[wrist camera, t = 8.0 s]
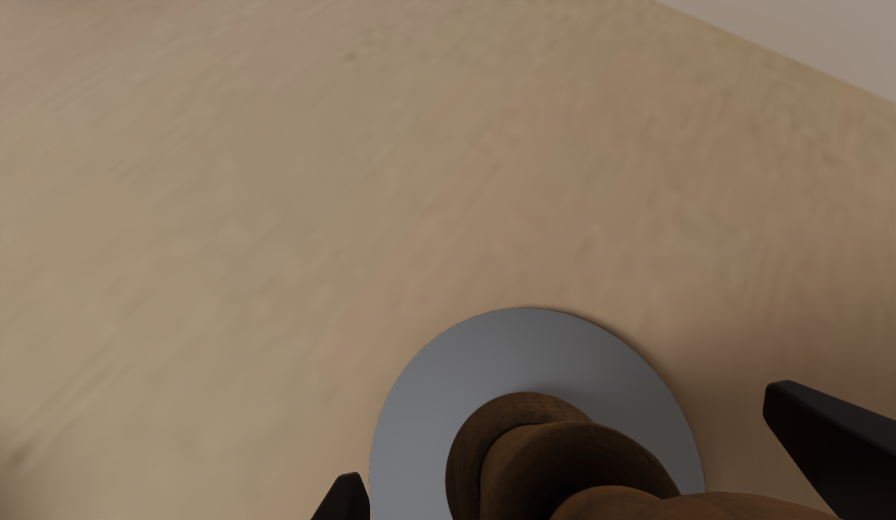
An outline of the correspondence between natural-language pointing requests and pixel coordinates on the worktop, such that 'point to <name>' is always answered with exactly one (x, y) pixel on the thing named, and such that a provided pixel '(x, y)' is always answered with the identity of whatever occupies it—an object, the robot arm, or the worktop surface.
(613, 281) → the worktop surface
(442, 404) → the mat
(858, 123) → the worktop surface
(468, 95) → the worktop surface
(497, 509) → the wooden pepper mill
